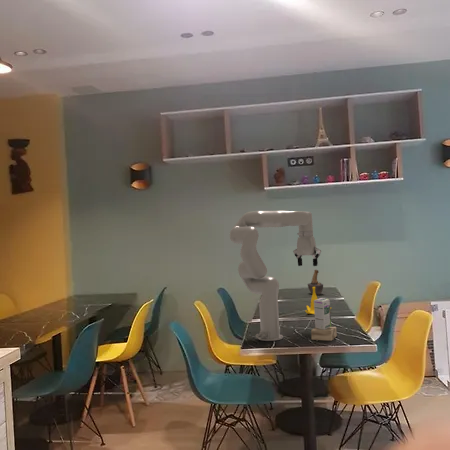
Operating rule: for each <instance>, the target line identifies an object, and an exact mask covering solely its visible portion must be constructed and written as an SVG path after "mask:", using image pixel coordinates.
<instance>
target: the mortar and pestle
mask: <svg viewBox="0 0 450 450" xmlns="http://www.w3.org/2000/svg"><path fill="white" fill-rule="evenodd" d="M318 275H319V270H318V269H314V272H313V274H312V279H311V282H310V283H307V288H308V290H309V292H310V293H311V295H313V288H312V287H315V293H316V296H320V295H321V293H322V292H323V290H324V283H322V282H319V281H318Z"/></svg>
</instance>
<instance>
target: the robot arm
mask: <svg viewBox="0 0 450 450" xmlns="http://www.w3.org/2000/svg"><path fill="white" fill-rule="evenodd" d="M313 226H314V225H313V214H312V212H311V211H304V210H302V211H301V210H298V211H297V210H294V211H293V210H291V211H289V210H254V211H247V212H245V213H244V214H242V216H241V217H240V218H239V219H238V220H237V222H236V223H235V224H234V226H233V227H232V228H231V229H230V232H229V239H230V240H231V242H232V243H234V244H237V245H238V244H239V245H241V248H240V258H241V261H240V263H239V264H238V269H237V271H238V275H239V276H240V278H241V280H242V281H243V283H244V284H245V286H246V288H247V289H248V291H249V292H250V293H252V294H254V295H261V296H260V299H259V303H258V304H259V324H260V330H259V333H256V334H255V338H257V339H258V340H260V341H263V342H264V341H265V342H274V341H279V340H282V339H284V336H283V334H280V317H279V300H278V299H279V291H280V285H279V284H280V283H279V280H278V279H277V278H275V277H274V276H267V273H268V269H267V266H266V265H265V263H264V261H263V259H262V258H261V256H260V255H259V253H258V250H257V244H258V239H259V231H258V229H257V228H282V227H298V232H297V234H296V235H297V236H298V237H297V240H296V248H295V249H294V250H293V251H292V252H293V254H294V257H296V259H297V265H298V267H301V266H303V258H302V257H303V256H312V266H313V267H317V266H318V265H319V264H318V259H319V257H320V256H321V253H322V250H321V249H319V248H318V247H317V244H316V239H315V236H314V230H313V229H314V227H313Z"/></svg>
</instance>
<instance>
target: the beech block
mask: <svg viewBox="0 0 450 450" xmlns="http://www.w3.org/2000/svg"><path fill="white" fill-rule="evenodd" d="M310 333H311V340H314V341H333V340H334V339H335V338H336V337H337V336H338V334H337V333H338V331H337V327H336V326H331V327H330V328H328V329H326V330H322V329H318V328H316V326H315V327H313V329H311V332H310Z"/></svg>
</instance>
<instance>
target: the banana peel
mask: <svg viewBox="0 0 450 450" xmlns="http://www.w3.org/2000/svg"><path fill="white" fill-rule="evenodd" d="M312 288H313V294H311V299H310V306H309V305H306V306H305V307H306V309H305V310H304V311H305V313H306V314H308V315H315V311H314V300H317V299H319V298H318V295H316V293H315V287H312ZM331 309H332V307H331V306H330V310H331Z"/></svg>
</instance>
